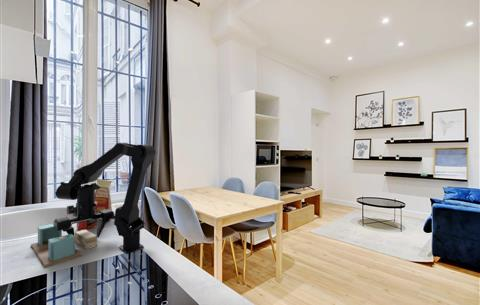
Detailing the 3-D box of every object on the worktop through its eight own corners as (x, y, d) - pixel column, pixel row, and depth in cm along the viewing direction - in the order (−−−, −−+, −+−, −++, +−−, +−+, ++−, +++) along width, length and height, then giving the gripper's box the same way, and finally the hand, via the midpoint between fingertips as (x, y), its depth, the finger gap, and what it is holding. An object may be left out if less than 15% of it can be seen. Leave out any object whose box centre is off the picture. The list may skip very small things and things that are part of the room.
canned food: (90, 230, 100) (90, 206, 100) (72, 229, 100) (72, 205, 100) (101, 224, 108) (101, 201, 107) (84, 223, 108) (84, 200, 107)
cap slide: (75, 254, 78) (75, 235, 78) (51, 261, 73) (51, 241, 73) (71, 250, 80) (71, 232, 80) (48, 257, 75) (48, 238, 75)
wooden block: (96, 246, 87) (97, 235, 86) (86, 249, 84) (86, 238, 84) (85, 239, 92) (85, 229, 92) (75, 242, 89) (75, 232, 89)
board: (82, 255, 79) (82, 253, 79) (44, 267, 71) (44, 265, 71) (64, 237, 92) (64, 235, 92) (31, 246, 84) (31, 243, 84)
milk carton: (91, 220, 112) (91, 180, 111) (93, 215, 120) (93, 177, 119) (112, 218, 116) (112, 179, 115) (113, 213, 124) (113, 176, 123)
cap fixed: (61, 240, 88) (61, 224, 88) (40, 245, 83) (39, 229, 83) (59, 237, 90) (59, 222, 90) (37, 242, 85) (37, 226, 85)
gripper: (104, 193, 99) (103, 228, 100) (49, 201, 85) (49, 242, 86) (115, 198, 92) (114, 235, 93) (57, 207, 78) (57, 251, 79)
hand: (85, 240), depth 88 cm, fingers open, 8 cm apart
